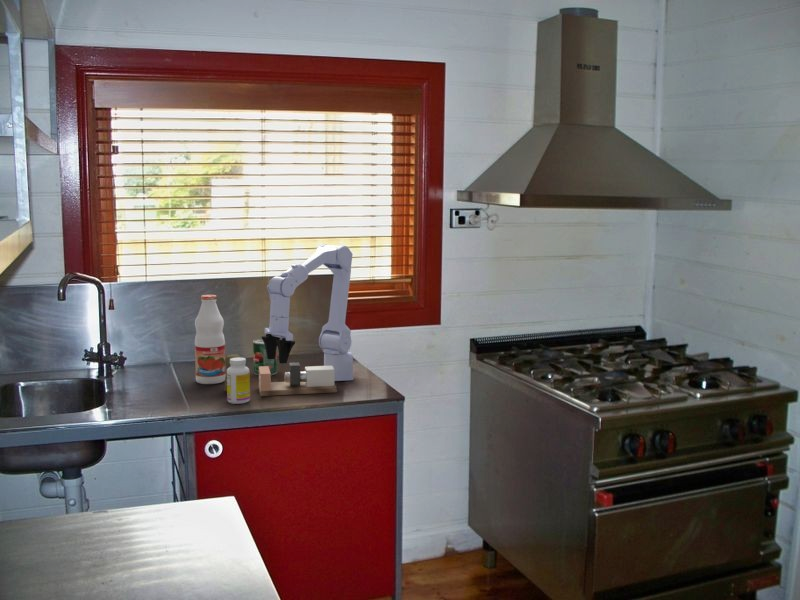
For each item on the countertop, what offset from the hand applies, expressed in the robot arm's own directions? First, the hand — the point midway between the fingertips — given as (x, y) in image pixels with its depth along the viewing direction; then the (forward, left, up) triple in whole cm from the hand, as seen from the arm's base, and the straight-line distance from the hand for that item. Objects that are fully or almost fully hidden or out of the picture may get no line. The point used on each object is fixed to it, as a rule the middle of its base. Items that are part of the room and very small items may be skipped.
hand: (277, 361), depth 250 cm
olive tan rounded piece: (+13, -9, -11) cm, 19 cm away
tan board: (-7, -5, -11) cm, 13 cm away
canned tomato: (+2, -29, -11) cm, 31 cm away
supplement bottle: (+12, +5, -11) cm, 17 cm away
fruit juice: (+20, -21, -11) cm, 31 cm away
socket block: (+3, -5, -9) cm, 11 cm away
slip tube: (-10, -5, -9) cm, 14 cm away
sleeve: (-14, -5, -9) cm, 17 cm away
